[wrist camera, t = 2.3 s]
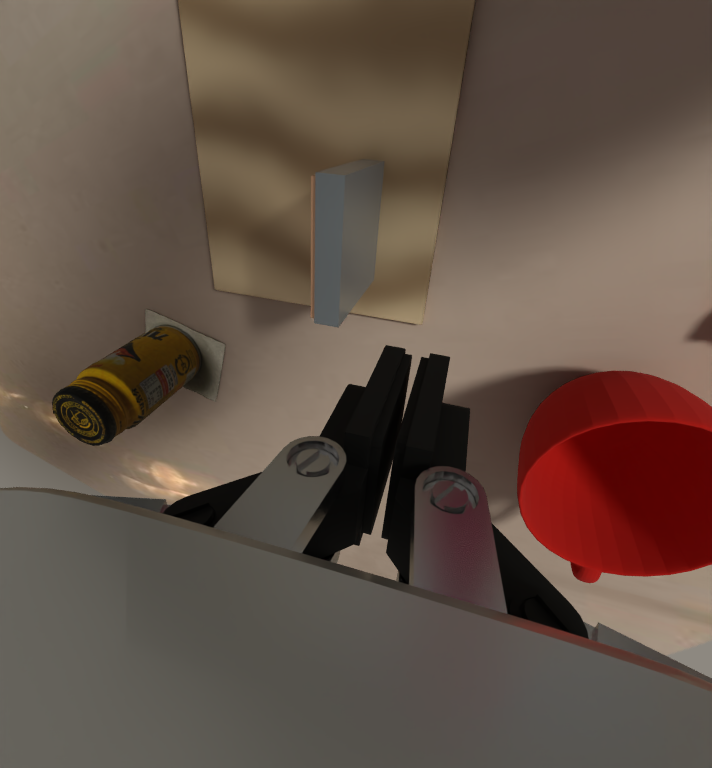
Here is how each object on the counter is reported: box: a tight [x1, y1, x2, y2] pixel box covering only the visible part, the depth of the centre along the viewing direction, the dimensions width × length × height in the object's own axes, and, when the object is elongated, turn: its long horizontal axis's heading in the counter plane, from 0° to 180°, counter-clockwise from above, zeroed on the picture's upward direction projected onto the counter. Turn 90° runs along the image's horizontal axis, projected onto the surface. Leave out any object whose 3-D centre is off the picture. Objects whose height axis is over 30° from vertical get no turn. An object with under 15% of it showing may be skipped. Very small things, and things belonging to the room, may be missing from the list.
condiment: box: [52, 309, 225, 446], centre depth 37 cm, size 7×8×12 cm
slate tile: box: [311, 159, 385, 327], centre depth 26 cm, size 8×2×9 cm, turn 176°
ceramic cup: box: [517, 371, 712, 583], centre depth 30 cm, size 13×17×10 cm
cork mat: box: [178, 0, 475, 325], centre depth 28 cm, size 22×18×1 cm
